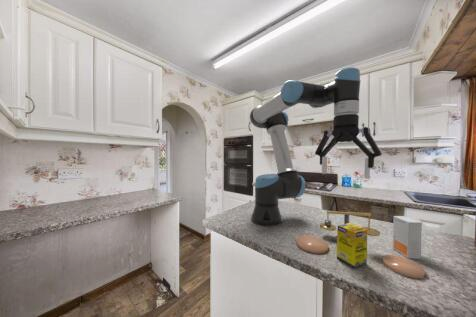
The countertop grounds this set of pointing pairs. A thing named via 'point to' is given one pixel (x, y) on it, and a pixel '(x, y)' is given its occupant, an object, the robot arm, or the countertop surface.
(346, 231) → the supplement box
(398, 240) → the skincare box
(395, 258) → the glossy peach dome
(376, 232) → the balance
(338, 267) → the countertop surface
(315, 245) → the peach round dome
